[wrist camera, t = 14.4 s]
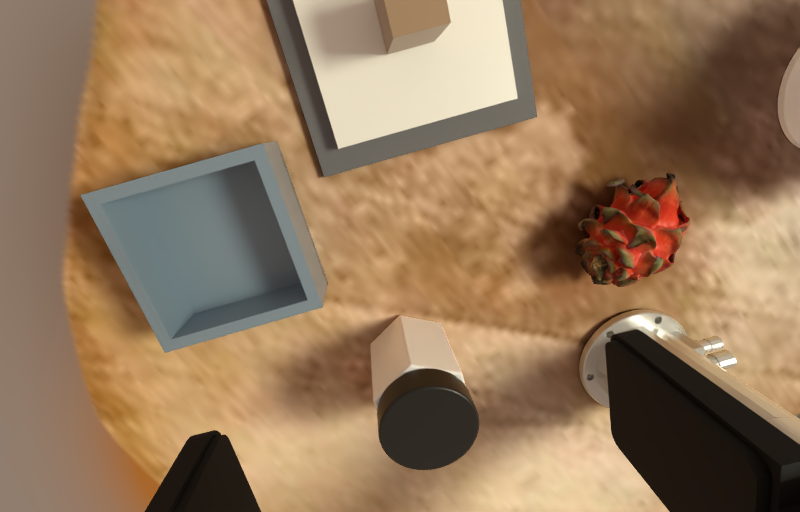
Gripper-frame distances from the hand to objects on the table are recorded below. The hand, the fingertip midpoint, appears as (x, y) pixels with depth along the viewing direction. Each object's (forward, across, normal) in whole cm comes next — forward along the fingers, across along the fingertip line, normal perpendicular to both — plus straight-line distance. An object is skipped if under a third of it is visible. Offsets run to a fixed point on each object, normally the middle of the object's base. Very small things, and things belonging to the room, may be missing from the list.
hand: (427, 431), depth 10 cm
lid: (+29, -5, -15) cm, 33 cm away
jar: (+30, +1, +16) cm, 34 cm away
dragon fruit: (+30, -22, +7) cm, 38 cm away
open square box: (+30, +14, -1) cm, 33 cm away
